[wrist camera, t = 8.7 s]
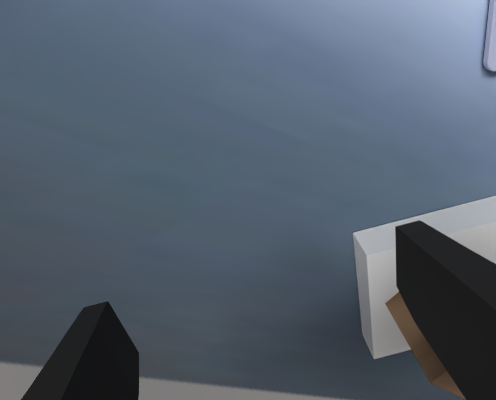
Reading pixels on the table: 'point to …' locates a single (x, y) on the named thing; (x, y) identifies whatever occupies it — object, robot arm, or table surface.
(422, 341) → the walnut cube
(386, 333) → the white slab
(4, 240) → the table surface
